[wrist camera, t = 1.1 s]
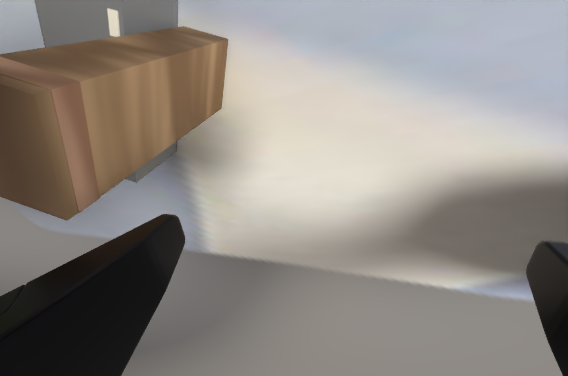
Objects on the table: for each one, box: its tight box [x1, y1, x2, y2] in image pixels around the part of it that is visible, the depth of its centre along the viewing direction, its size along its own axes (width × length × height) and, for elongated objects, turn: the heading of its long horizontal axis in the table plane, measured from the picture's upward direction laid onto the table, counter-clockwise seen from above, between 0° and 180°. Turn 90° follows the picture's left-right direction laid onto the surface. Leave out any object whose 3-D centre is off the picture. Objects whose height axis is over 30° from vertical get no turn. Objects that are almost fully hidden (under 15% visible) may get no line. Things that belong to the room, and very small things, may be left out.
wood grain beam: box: [0, 26, 228, 220], centre depth 15 cm, size 3×4×13 cm, turn 167°
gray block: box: [35, 0, 178, 182], centre depth 19 cm, size 5×14×5 cm, turn 168°
